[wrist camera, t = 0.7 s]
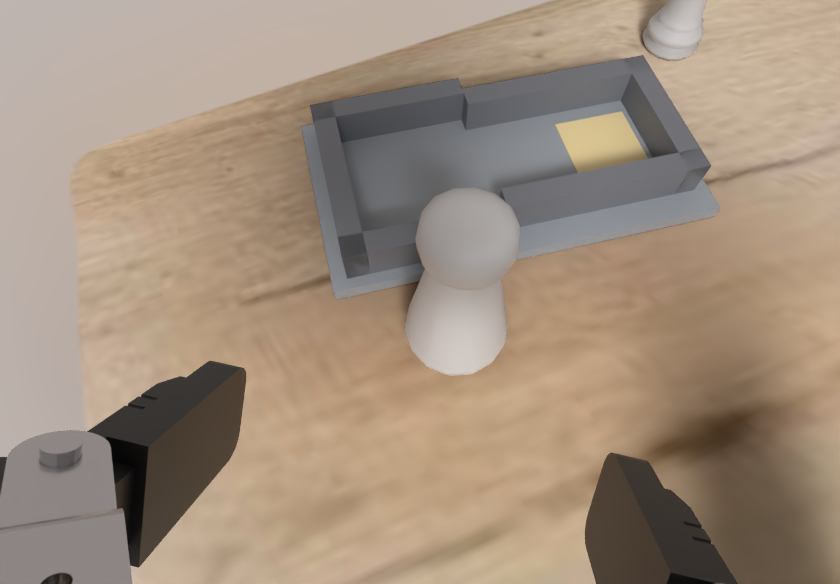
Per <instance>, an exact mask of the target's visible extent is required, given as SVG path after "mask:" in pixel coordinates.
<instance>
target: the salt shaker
mask: <svg viewBox="0 0 840 584" xmlns="http://www.w3.org/2000/svg"><path fill="white" fill-rule="evenodd" d="M519 237H520V225H519V222H518V220H517V218H516V215H515V213H514V211H513V208H512V207H511V206H510V205H509V204H508V203H506V202H505V201H504V200H503V199H502V198H500V197H499V196H498V195H497V194H495V193H492V192H489V191H486V190H483V189H480V188H477V187H466V188H453V189H451V190H448V191H446V192H444V193H442V194H439V195H437V196H435V197H434V198H433V199H432V200H431V201H430V203H429V204H428V205H427V206H426V207H425V209H424V210H423V211H422V213H421V217H420V220H419V225H418V229H417V234H416V238H415V240H416V247H417V250H418V253H419V256H420V259H421V262H422V264H423V266H424V268H425V270H424V272H423V275H422V277H421V279H420V282H419V284H418V287H417V289H416V291H415V294H414V296H413V298H412V301H411V303H410V306H409V308H408V313H407V318H406V322H405V327H404V328H405V331H406V335H407V338H408V341H409V344H410V347H411V350H412V352H413V353H414V354H415V355H416V356H417V357H418V358H419V359H420V360H421V361H422V362H423V363H424V365H425V366H426V367H427V368H430V369H433V370H435V371H438V372H440V373H443V374H445V375H448V376H453V375H471V374H473V373H475V372H477V371H479V370H480V369H482V368H484V367H486V366H488V365H490V364H491V363H492V362H493V360H494V359H495V357H496V356H497V355H498V353H499V352H500V350H501V349H502V347H503V346H504V344H505V341H506V331H507V316H506V309H505V301H504V294H503V286H502V279H501V278H503V276H504V275H505V274H506V272H507V271H508V270H509V268H510V267H511V266H512V264H513V263H514V262H515V260H516V257H517V255H518V248H519Z"/></svg>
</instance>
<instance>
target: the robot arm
mask: <svg viewBox="0 0 840 584" xmlns="http://www.w3.org/2000/svg"><path fill="white" fill-rule="evenodd" d="M245 384H246V371H245V369H244V368H241V367H237V366H232V365H228V364H223V363H219V362H215V361H209V362H207V363H206V364H204V365H203V366H202V367H200V368H199V369H197V370H196V371H195V372H193V373H192V374H191V375H189V376H188V377H187V378H185V377H181V376H180V377H177V378H174V379H170V380H167V381H164V382H161V383H158V384H156V385H155V386H153V387H152V388H150V389H149V390H147V391H146V392H145V393H143V394H142V395H141V397H137V398H136V399H134V400H133V401H131V402H130V403H128V406H124V407H123V408H121V409H120V410H118V411H117V412H115V413H114V414H112V415H111V416H109V417H108V418H106V419H105V420H104V421H102V422H101V423H99V424H98V425H96V426H95V427H93V428H92V429H90V430H89V431H87V432H86V431H71V430H70V431H57V432H51V433H46V434H42V435H39V436H35V437H33V438H30V439H28V440H26V441H24V442H22V443H20V444H19V445H17V446H16V447H15V448H14V449H12V450H11V452H10V453H9V455H8V457H0V584H132V577H131V568H130V565H131V566H135V567H140V565H141V564H142V563H143V562H144V561H145V560H146V558H147V557H148V556H149V555H150V554H151V552H152V551H153V550H154V549H155V548H156V546H157V545H158V544H159V543H160V542H161V541H162V539H163V538H164V537H165V536H166V535H167V533H168V532H169V531H170V530H171V529H172V527H173V526H174V525H175V524H176V523H177V522H178V520H179V519H180V518H181V517H182V516H183V514H184V513H185V512H186V511H187V510H188V508H189V507H190V506H191V505H192V504H193V503H194V501H195V500H196V499H197V498H198V497H199V495H200V494H201V493H202V492H203V491H204V489H205V488H206V487H207V486H208V485H209V484H210V482H211V481H212V480H213V479H214V478H215V476H216V475H217V474H218V473H219V472H220V470H221V469H222V468H223V467H224V466H225V465H226V463H227V462H228V461H229V459H230V458H231V456H232V454H233V452H234V450H235V447H236V444H237V441H238V437H239V432H240V424H241V416H242V408H243V400H244V392H245ZM585 544H586V549H587V552H588V556H589V559H590V563H591V567H592V570H593V574H594V577H595V581H596V584H737V582H736V580H735V579H734V577H733V576H732V574H731V572H730V571H729V569H728V568H727V566H726V564H725V563H724V561H723V559H722V558H721V556H720V555H719V553H718V551H717V550H716V548H715V547H714V545H712V544H711V540H710V538H709V537H708V535H707V534H706V532H705V530H704V529H701V524H700V522H699V521H698V519H697V517H696V516H695V514H694V513H693V511H692V509H691V508H690V507H689V506H688V505H687V504H686V503H685V502H684V501H682V500H681V499H680V498H679V497H678V496H677V495H676V494H675V493H674V492H672V491H671V490H668V489H664V487H663V486H662V484H661V482H660V481H659V479H658V477H657V475H656V474H655V472H654V470H653V468H652V467H651V465H650V463H649V462H648V461H646V460H642V459H637V458H633V457H629V456H624V455H620V454H615V453H610V454H609V455H608V456H607V457H606V459H605V462H604V464H603V468H602V471H601V474H600V477H599V480H598V484H597V487H596V490H595V493H594V496H593V500H592V503H591V506H590V509H589V512H588V516H587V520H586V527H585Z"/></svg>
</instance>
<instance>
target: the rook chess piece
mask: <svg viewBox="0 0 840 584" xmlns="http://www.w3.org/2000/svg"><path fill="white" fill-rule="evenodd" d="M706 2H707V0H669V1H668V2H667V4H666V5H665V6H663V7H662V8H661V9H660V10H659V11H658V12H657V13H656V14H654V15H653V16H652V17H651V19H650V20H649V23H648V25H647V28H646V29H645V30H644V33H643V35H642V36H643V40H644V44H645V47H646V48H647V49H648V51H649V52H650V53H651V54H653V55H654V56H656V57H658V58H660V59H664V60H672V61H677V60H680V59H684V58H686V57H688V56H690V55H692V54H693V53H694V52H695V51H696V50H697V47H698V44H699V43H698V42H699V41H701V38H702V34H703V26H702V23H703V18H702V15H703V10H704V7H705V5H706Z"/></svg>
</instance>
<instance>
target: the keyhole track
mask: <svg viewBox="0 0 840 584" xmlns="http://www.w3.org/2000/svg"><path fill="white" fill-rule="evenodd" d="M310 108H311V112H312V117H313V122H314V124H311V125H305V126H301V127H302V133H303V138H304V143H305V148H306V153H307V158H308V164H309V169H310V174H311V179H312V184H313V189H314V194H315V200H316V205H317V210H318V215H319V220H320V225H321V231H322V236H323V241H324V246H325V251H326V256H327V261H328V267H329V272H330V277H331V282H332V287H333V292H334V296H335V299H336V300H337V299H342V298H346V297H351V296H355V295H360V294H365V293H369V292H374V291H378V290H383V289H387V288H392V287H396V286H401V285H406V284H410V283H415V282H419V281H420V279H421V277H422V275H423V272H424V270H425V268H424V266H423V264H422V262H421V259H420V256H419V253H418V250H417V247H416V240H415V238H416V234H417V229H418V225H419V220H420V217H421V213H422V211H423V210H424V209H425V207H426V206H427V205H428V204H429V203H430V201H431V200H432V199H433V198H434V197H435V196H437V195H439V194H442V193H444V192H446V191H448V190H451V189H453V188H466V187H477V188H480V189H483V190H486V191H489V192H492V193H495V194H497V195H498V196H499V197H500V198H502V199H503V200H504V201H505V202H506V203H508V204H509V205H510V206H511V207H512V208H513V211H514V213H515V215H516V218H517V220H518V222H519V225H520V237H519V248H518V255H517V257H516V260H519V259H524V258H528V257H533V256H538V255H542V254H547V253H551V252H556V251H560V250H565V249H569V248H574V247H579V246H583V245H588V244H592V243H597V242H601V241H606V240H610V239H615V238H620V237H624V236H629V235H633V234H638V233H642V232H647V231H651V230H656V229H661V228H665V227H670V226H674V225H679V224H683V223H688V222H692V221H697V220H702V219H706V218H711V217H714V215H715V214H716V213H717V212H718V210H719V209H720V207H719V205H718V204H717V202H716V200H715V199H714V197H713V195H712V194H711V192H710V190H709V189H708V187H707V185H706V184H705V182H704V180H703V179H702V178H703V177H704V175H705V174H706V172H707V171H708V170H709V168H710V167H711V164H710V163H709V161H708V160H707V158H706V156H705V155H704V153H703V151H702V150H701V148H700V147H699V145H698V143H697V142H696V140H695V139H694V137H693V135H692V134H691V132H690V131H689V129H688V127H687V126H686V124H685V122H684V121H683V119H682V118H681V116H680V114H679V113H678V111H677V110H676V108H675V106H674V105H673V103H672V101H671V100H670V98H669V97H668V95H667V93H666V92H665V90H664V89H663V87H662V85H661V84H660V82H659V80H658V79H657V77H656V76H655V74H654V72H653V71H652V69H651V68H650V66H649V64H648V63H647V61H646V59H645V58H644V56H643V55H642V56H636V57H631V58H626V59H620V60H615V61H609V62H604V63H599V64H593V65H588V66H582V67H577V68H571V69H566V70H561V71H555V72H550V73H544V74H539V75H533V76H528V77H523V78H517V79H512V80H506V81H501V82H495V83H490V84H485V85H479V86H474V87H468V88H463V89H462V87H461V84H460V82H459V79H458V78H456V79H451V80H445V81H440V82H434V83H429V84H423V85H418V86H412V87H407V88H401V89H396V90H390V91H385V92H379V93H374V94H368V95H363V96H357V97H352V98H346V99H341V100H335V101H330V102H324V103H319V104H313V105H310Z"/></svg>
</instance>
